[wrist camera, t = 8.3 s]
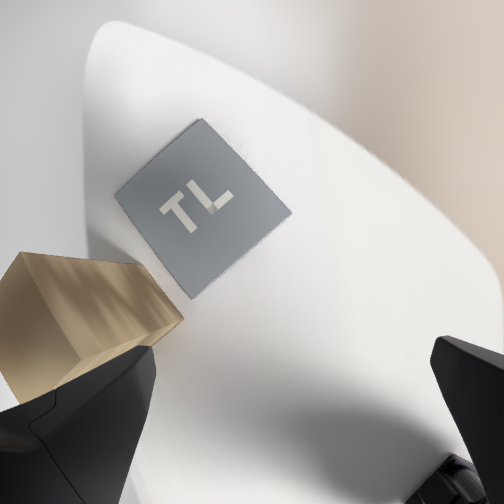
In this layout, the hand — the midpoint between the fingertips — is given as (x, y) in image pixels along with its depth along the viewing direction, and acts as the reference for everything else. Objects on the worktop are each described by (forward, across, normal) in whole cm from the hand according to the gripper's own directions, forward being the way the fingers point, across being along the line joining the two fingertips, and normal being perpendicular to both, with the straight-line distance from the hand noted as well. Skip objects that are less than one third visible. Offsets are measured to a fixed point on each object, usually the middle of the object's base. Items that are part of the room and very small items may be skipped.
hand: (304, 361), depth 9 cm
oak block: (+13, +10, +5) cm, 17 cm away
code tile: (+15, +5, -3) cm, 16 cm away
